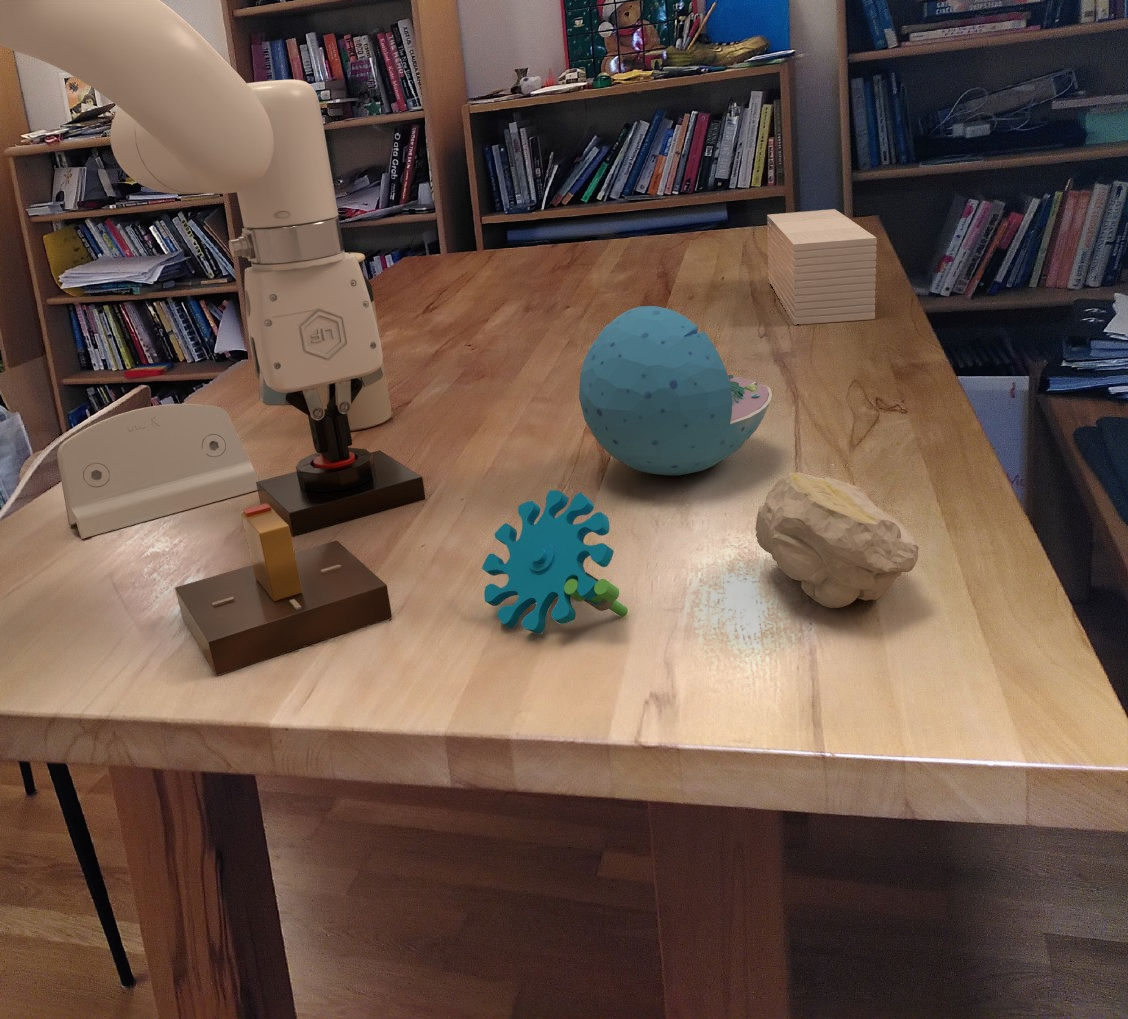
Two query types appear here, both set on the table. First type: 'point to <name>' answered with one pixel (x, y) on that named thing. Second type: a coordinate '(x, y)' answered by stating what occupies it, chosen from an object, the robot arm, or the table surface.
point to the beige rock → (833, 539)
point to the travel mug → (366, 388)
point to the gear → (551, 564)
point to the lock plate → (281, 608)
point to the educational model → (665, 395)
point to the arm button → (324, 463)
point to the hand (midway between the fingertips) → (335, 456)
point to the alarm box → (340, 491)
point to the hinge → (151, 466)
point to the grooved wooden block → (822, 266)
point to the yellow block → (271, 551)
